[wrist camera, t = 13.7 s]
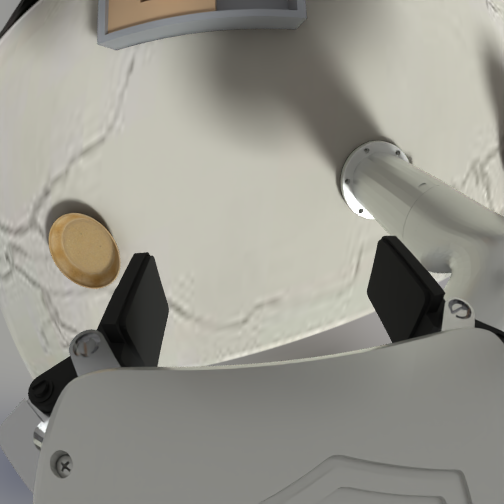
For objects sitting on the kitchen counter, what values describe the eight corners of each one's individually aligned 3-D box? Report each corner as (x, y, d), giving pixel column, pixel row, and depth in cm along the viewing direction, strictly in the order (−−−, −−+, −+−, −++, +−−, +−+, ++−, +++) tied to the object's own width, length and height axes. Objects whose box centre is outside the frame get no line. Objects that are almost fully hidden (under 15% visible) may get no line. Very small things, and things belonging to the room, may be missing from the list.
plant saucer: (42, 232, 39) (35, 239, 37) (89, 190, 36) (82, 196, 34) (89, 290, 46) (84, 299, 44) (141, 260, 44) (137, 269, 41)
